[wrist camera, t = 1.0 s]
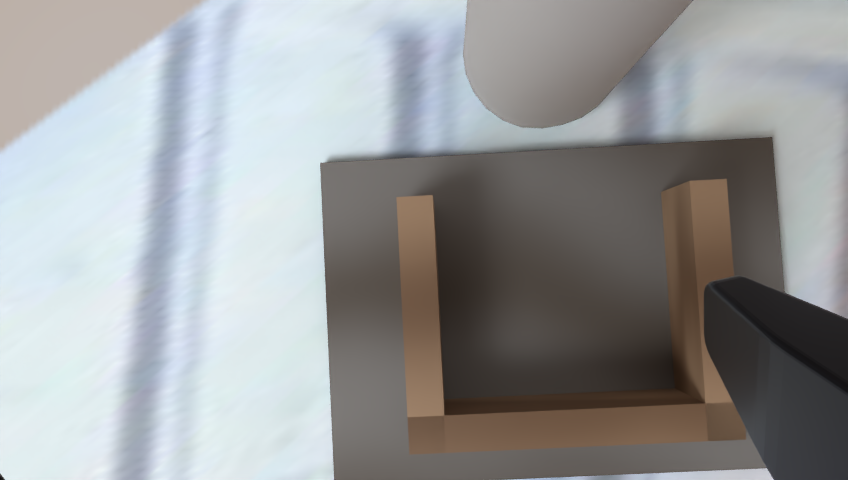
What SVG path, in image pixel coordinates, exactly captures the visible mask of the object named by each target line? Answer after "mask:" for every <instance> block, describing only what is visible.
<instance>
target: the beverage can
mask: <svg viewBox="0 0 848 480" xmlns="http://www.w3.org/2000/svg"><path fill="white" fill-rule="evenodd" d="M692 1H693V0H467V12H466V24H465V37H464V49H463V58H464V65H465V72H466V76H467V78H468V80H469V83H470V85H471V87H472V89H473V92H474V93H475V95H476V96H477V97H478V98H479V100H480V101H481V102H482V103H483V105H484V106H485V107H486V108H487V109H488V110H489V111H491V112H492V113H493V114H495V115H496V116H498V117H499V118H500V119H502V120H503V121H506V122H509V123H511V124H514V125H517V126H519V127H525V128H547V127H552V126H558V125H563V124H566V123H568V122H571V121H574V120H576V119H579V118H581V117H583V116H584V115H586V114H587V113H589V112H590V111H591V110H593V109H594V108H596V107H597V106H598V105H599V104H600V103H601V102H602V101H603V99H604V98H605V97H606V96H607V95H608V94H609V93H610V92H611V91H612V89H613V88H614V87H615V86H616V85H617V84H618V83H619V82H620V81H621V79H622V78H623V77H624V76H625V75H626V74H627V73H628V72H629V71H630V69H631V68H632V67H633V66H634V65H635V64H636V63H637V62H638V61H639V59H640V58H641V57H642V56H643V55H644V54H645V53H646V52H647V51H648V49H649V48H650V47H651V46H652V45H653V44H654V43H655V42H656V41H657V40H658V38H659V37H660V36H661V35H662V34H663V33H664V32H665V31H666V30H667V28H668V27H669V26H670V25H671V24H672V23H673V22H674V21H675V20H676V19H677V17H678V16H679V15H680V14H681V13H682V12H683V11H684V10H685V9H686V8H687V6H688V5H689V4H690V3H691V2H692Z"/></svg>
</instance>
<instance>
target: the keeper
mask: <svg viewBox="0 0 848 480" xmlns="http://www.w3.org/2000/svg"><path fill="white" fill-rule="evenodd" d="M320 169H321V191H322V214H323V236H324V259H325V282H326V304H327V327H328V349H329V372H330V395H331V417H332V440H333V462H334V480H505V479H528V478H551V477H574V476H597V475H620V474H643V473H666V472H689V471H712V470H735V469H758V468H767V467H766V466H765V464H764V462H763V461H762V459H761V457H760V455H759V453H758V451H757V449H756V447H755V446H754V444H753V442H752V440H751V438H750V436H749V434H748V432H747V430H746V428H745V426H744V424H743V422H742V420H741V418H740V416H739V414H738V412H737V410H736V408H735V406H734V404H733V402H732V400H731V398H730V396H729V394H728V392H727V390H726V388H725V386H724V384H723V381H722V379H721V377H720V375H719V373H718V371H717V369H716V367H715V365H714V363H713V361H712V359H711V357H710V355H709V353H708V350H707V348H706V344H705V339H704V290H705V286H706V285H707V284H708V283H709V282H711V281H715V280H719V279H723V278H728V277H732V276H738V275H739V276H744V277H747V278H750V279H752V280H754V281H757V282H759V283H762V284H764V285H767V286H769V287H772V288H774V289H776V290H779V291H781V292H784V280H783V268H782V255H781V243H780V230H779V217H778V205H777V192H776V179H775V167H774V154H773V142H772V137H768V138H750V139H733V140H715V141H698V142H680V143H662V144H645V145H627V146H610V147H592V148H575V149H557V150H539V151H522V152H504V153H487V154H469V155H451V156H434V157H416V158H399V159H381V160H363V161H346V162H328V163H320Z"/></svg>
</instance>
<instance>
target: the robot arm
mask: <svg viewBox="0 0 848 480" xmlns="http://www.w3.org/2000/svg"><path fill="white" fill-rule="evenodd" d="M704 339H705V344H706V348H707V350H708V353H709V355H710V357H711V359H712V361H713V363H714V365H715V367H716V369H717V371H718V373H719V375H720V377H721V379H722V381H723V384H724V386H725V388H726V390H727V392H728V394H729V396H730V398H731V400H732V402H733V404H734V406H735V408H736V410H737V412H738V414H739V416H740V418H741V420H742V422H743V424H744V426H745V428H746V430H747V432H748V434H749V436H750V438H751V440H752V442H753V444H754V446H755V447H756V449H757V451H758V453H759V455H760V457H761V459H762V461H763V462H764V464H765V466H766V467H767V469H768V471H769V472H770V474H771V476H772V477H773V479H774V480H848V319H847V318H845V317H842V316H840V315H837V314H835V313H832V312H830V311H828V310H825V309H823V308H820V307H818V306H815V305H813V304H811V303H808V302H806V301H803V300H801V299H798V298H796V297H793V296H791V295H789V294H786V293H784V292H781V291H779V290H776V289H774V288H772V287H769V286H767V285H764V284H762V283H759V282H757V281H754V280H752V279H750V278H747V277H744V276H739V275H738V276H732V277H728V278H723V279H719V280H715V281H711V282H709V283H708V284H707V285H706V286H705V290H704ZM0 480H5V479H4V478H3V477H2V475H1V474H0Z"/></svg>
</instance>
